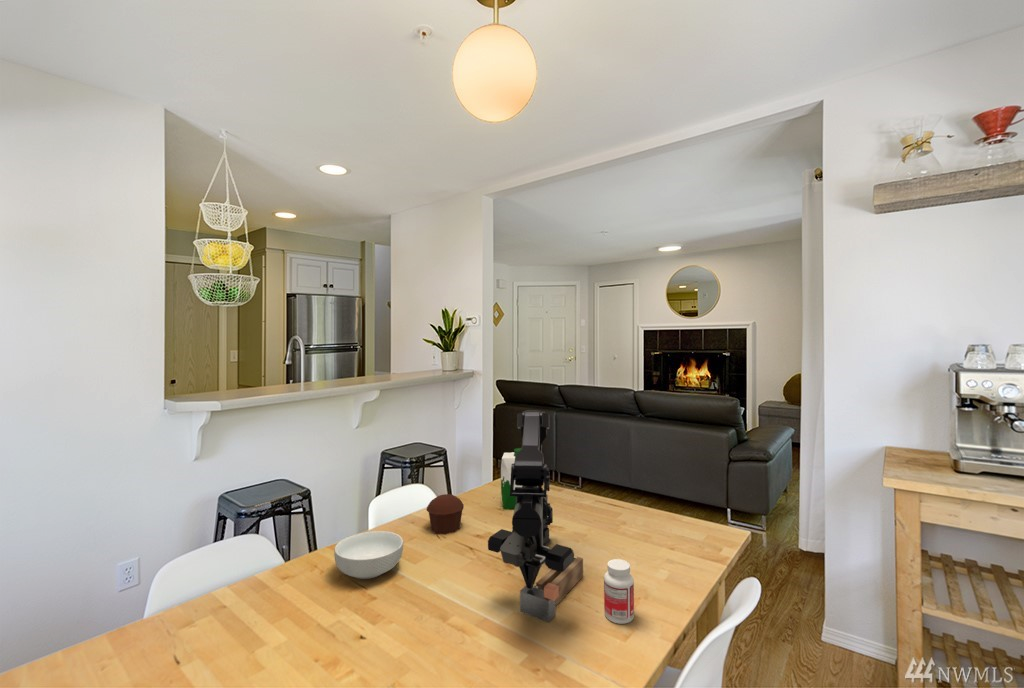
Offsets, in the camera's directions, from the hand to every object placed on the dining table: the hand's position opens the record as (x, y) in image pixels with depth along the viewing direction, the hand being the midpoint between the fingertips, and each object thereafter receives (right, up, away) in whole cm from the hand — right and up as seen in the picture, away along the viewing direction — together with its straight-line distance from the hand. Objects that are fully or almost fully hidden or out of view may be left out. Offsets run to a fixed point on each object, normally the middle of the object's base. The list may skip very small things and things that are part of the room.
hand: (529, 587), depth 99 cm
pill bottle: (+19, -5, -2) cm, 20 cm away
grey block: (+2, -5, -1) cm, 5 cm away
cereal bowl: (-40, -5, +17) cm, 44 cm away
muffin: (-25, -5, +43) cm, 50 cm away
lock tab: (+4, 0, -3) cm, 5 cm away
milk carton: (-3, -4, +61) cm, 61 cm away
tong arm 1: (+7, -5, +9) cm, 12 cm away
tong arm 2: (+8, -5, +7) cm, 12 cm away
